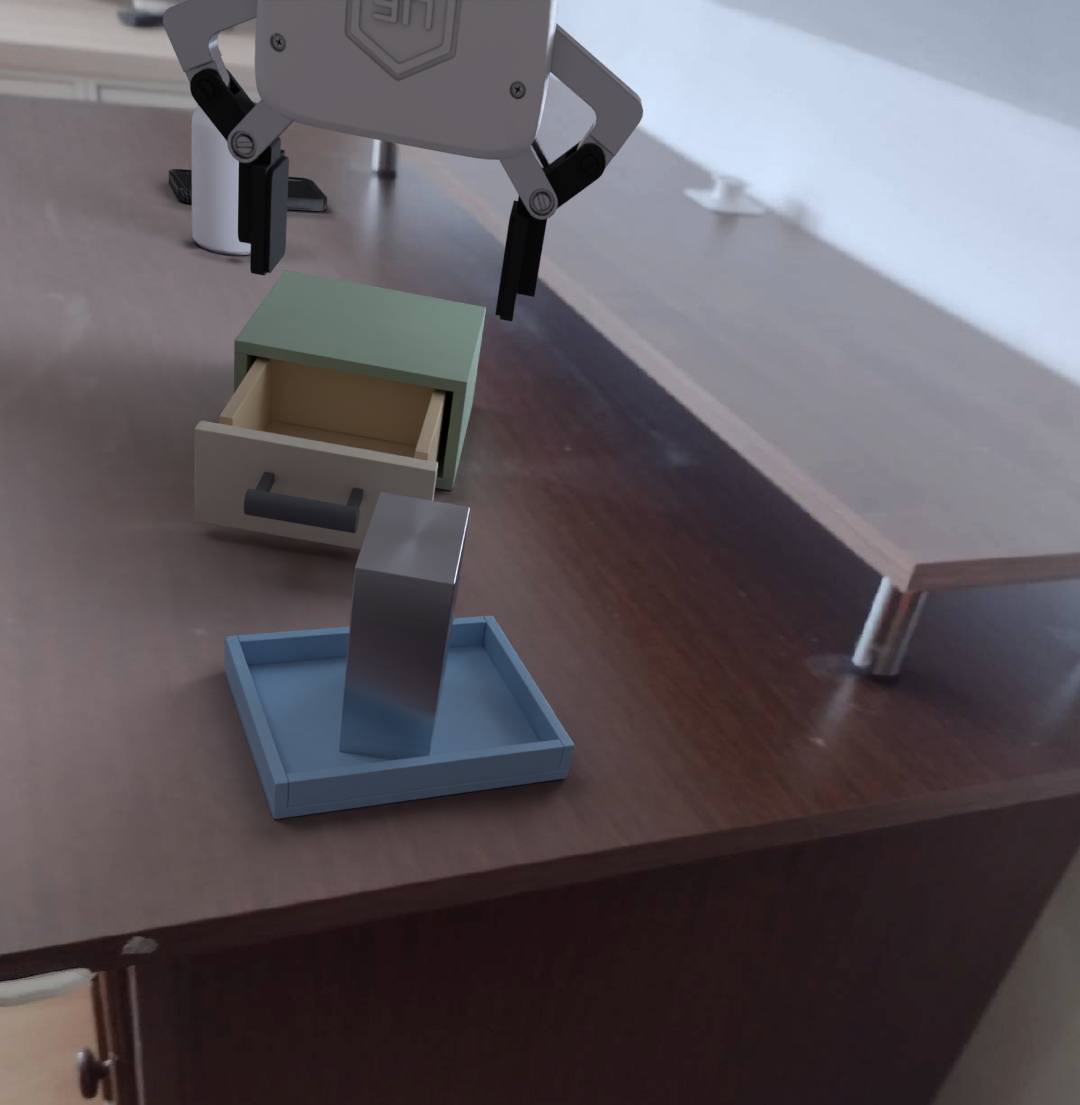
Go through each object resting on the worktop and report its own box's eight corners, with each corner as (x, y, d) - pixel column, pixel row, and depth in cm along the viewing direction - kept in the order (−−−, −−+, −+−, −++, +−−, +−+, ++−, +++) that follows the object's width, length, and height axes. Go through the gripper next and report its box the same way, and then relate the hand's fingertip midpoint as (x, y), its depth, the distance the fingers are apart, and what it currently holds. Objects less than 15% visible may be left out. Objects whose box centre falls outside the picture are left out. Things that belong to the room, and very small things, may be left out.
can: (222, 228, 114) (223, 90, 107) (278, 248, 112) (283, 109, 105) (177, 241, 109) (175, 97, 102) (235, 261, 107) (237, 116, 100)
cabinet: (452, 491, 79) (467, 382, 75) (232, 452, 78) (234, 339, 74) (472, 405, 91) (486, 306, 86) (280, 371, 90) (285, 269, 85)
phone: (166, 168, 122) (310, 177, 128) (166, 179, 123) (310, 188, 129) (180, 191, 117) (330, 200, 123) (180, 203, 117) (329, 211, 123)
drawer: (416, 595, 67) (427, 503, 63) (175, 554, 66) (173, 458, 62) (448, 462, 80) (459, 380, 77) (250, 427, 80) (252, 342, 76)
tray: (273, 820, 52) (275, 783, 51) (224, 670, 60) (224, 635, 58) (567, 778, 58) (575, 745, 56) (487, 646, 65) (492, 614, 64)
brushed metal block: (338, 751, 55) (354, 566, 49) (362, 666, 61) (380, 491, 55) (428, 766, 56) (455, 583, 50) (444, 679, 61) (470, 506, 55)
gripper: (122, -328, 34) (141, 276, 44) (713, -200, 35) (598, 360, 45) (195, -305, 40) (197, 222, 50) (697, -196, 41) (599, 297, 51)
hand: (387, 287), depth 48 cm, fingers open, 9 cm apart
